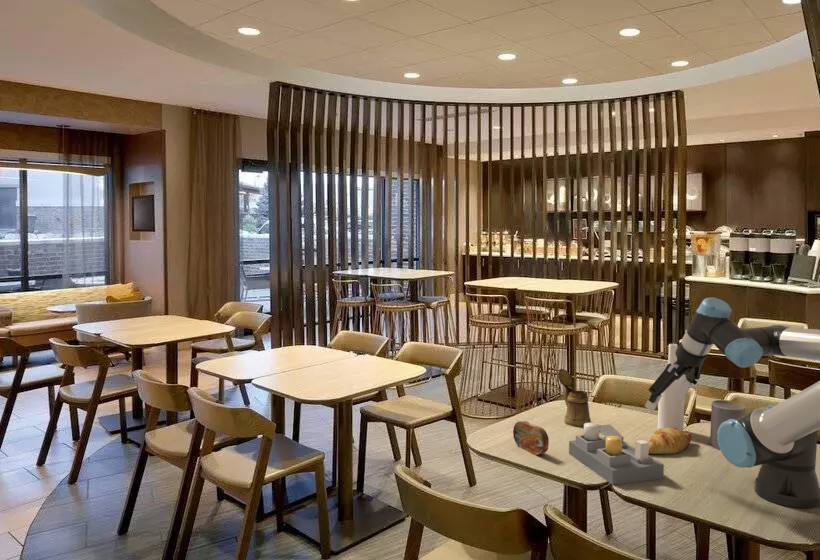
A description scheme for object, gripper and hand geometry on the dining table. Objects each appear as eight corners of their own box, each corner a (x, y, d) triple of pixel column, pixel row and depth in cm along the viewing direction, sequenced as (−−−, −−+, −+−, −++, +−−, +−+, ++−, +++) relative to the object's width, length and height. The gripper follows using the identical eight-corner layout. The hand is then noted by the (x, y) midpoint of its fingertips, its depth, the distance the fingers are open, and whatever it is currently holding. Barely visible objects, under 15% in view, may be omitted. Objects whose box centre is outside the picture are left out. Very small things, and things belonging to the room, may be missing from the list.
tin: (512, 443, 204) (512, 418, 203) (520, 442, 206) (520, 416, 205) (542, 459, 191) (542, 432, 190) (550, 457, 192) (550, 430, 191)
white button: (601, 439, 188) (601, 426, 187) (588, 441, 187) (588, 428, 186) (593, 434, 192) (594, 422, 192) (580, 436, 191) (581, 423, 191)
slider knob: (648, 460, 178) (648, 443, 177) (640, 461, 177) (640, 443, 177) (642, 456, 180) (643, 439, 180) (634, 457, 180) (635, 440, 179)
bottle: (679, 428, 218) (682, 342, 215) (686, 435, 210) (689, 347, 207) (655, 427, 219) (657, 341, 216) (660, 434, 211) (663, 346, 208)
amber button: (625, 454, 176) (625, 440, 176) (611, 455, 175) (611, 441, 175) (616, 448, 181) (616, 435, 180) (602, 450, 179) (602, 436, 179)
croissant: (652, 469, 191) (663, 450, 187) (629, 445, 198) (639, 426, 194) (696, 453, 202) (707, 435, 198) (672, 431, 209) (682, 414, 205)
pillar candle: (712, 438, 207) (714, 394, 205) (746, 444, 201) (747, 398, 200) (707, 448, 199) (708, 402, 197) (742, 454, 193) (744, 406, 192)
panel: (663, 478, 176) (664, 455, 175) (612, 484, 172) (613, 461, 171) (614, 448, 199) (615, 428, 198) (568, 453, 195) (569, 432, 194)
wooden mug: (568, 414, 234) (569, 366, 232) (596, 424, 222) (597, 374, 221) (550, 418, 230) (551, 369, 228) (578, 428, 218) (578, 377, 216)
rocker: (622, 442, 190) (623, 437, 190) (612, 443, 190) (613, 438, 189) (609, 429, 198) (610, 424, 197) (599, 430, 197) (599, 425, 196)
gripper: (710, 330, 183) (680, 384, 195) (654, 349, 171) (626, 405, 182) (732, 346, 178) (700, 400, 190) (676, 366, 166) (645, 423, 177)
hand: (664, 403), depth 186 cm, fingers open, 13 cm apart
